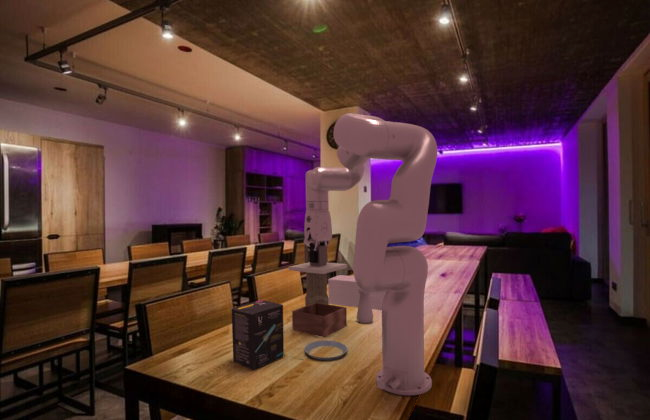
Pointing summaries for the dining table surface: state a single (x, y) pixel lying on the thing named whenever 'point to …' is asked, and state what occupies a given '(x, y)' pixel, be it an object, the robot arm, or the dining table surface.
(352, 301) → the pink rectangular block
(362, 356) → the dining table surface
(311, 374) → the dining table surface
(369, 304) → the salt shaker
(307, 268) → the lid
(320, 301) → the thermos
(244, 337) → the tampon box
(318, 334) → the box
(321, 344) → the saucer
